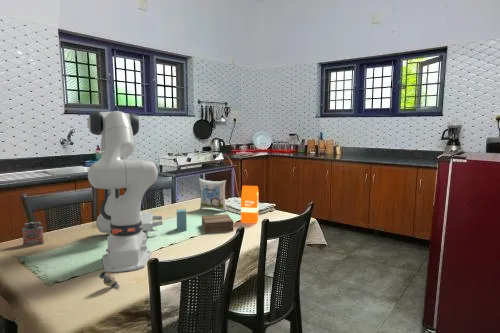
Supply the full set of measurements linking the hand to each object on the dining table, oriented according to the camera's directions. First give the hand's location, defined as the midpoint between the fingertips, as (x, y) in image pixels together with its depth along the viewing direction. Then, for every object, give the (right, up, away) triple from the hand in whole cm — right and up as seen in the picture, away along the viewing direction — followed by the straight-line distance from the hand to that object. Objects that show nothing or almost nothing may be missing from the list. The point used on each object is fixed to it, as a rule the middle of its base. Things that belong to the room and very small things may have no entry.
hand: (162, 220), depth 167 cm
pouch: (+21, -1, +43) cm, 47 cm away
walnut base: (+27, -5, +6) cm, 28 cm away
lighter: (-52, -8, -19) cm, 56 cm away
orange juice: (+44, -4, +19) cm, 48 cm away
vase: (-2, -13, -59) cm, 60 cm away
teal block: (+9, -5, +3) cm, 11 cm away
